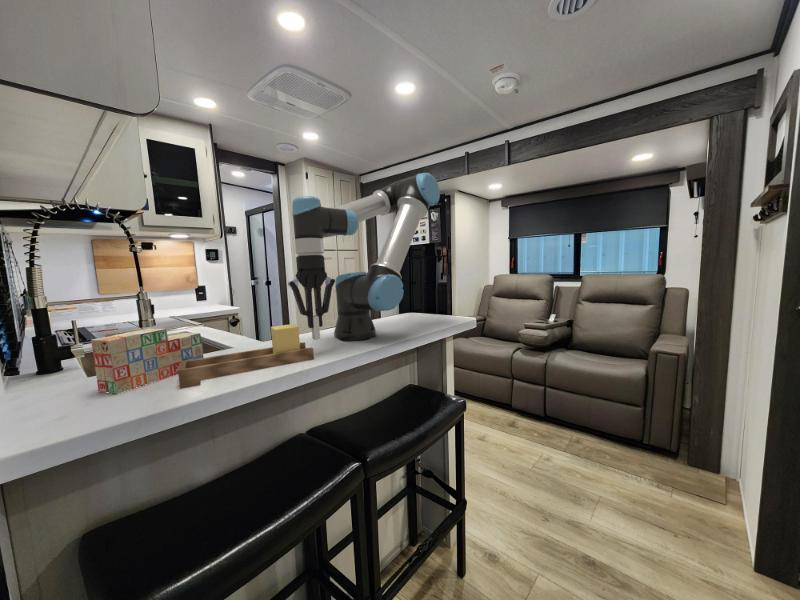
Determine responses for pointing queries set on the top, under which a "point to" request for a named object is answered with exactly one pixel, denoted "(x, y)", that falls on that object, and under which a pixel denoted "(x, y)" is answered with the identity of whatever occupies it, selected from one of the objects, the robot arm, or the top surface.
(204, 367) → the chute
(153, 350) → the stack of blocks
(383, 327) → the top surface
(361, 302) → the robot arm
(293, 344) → the block
